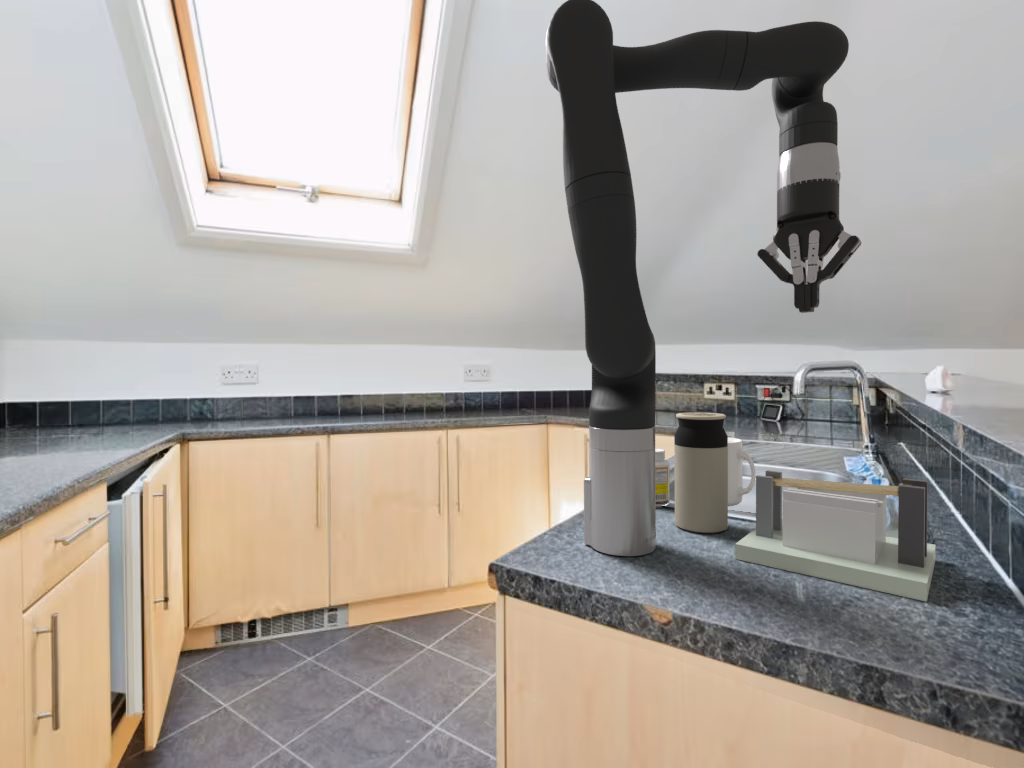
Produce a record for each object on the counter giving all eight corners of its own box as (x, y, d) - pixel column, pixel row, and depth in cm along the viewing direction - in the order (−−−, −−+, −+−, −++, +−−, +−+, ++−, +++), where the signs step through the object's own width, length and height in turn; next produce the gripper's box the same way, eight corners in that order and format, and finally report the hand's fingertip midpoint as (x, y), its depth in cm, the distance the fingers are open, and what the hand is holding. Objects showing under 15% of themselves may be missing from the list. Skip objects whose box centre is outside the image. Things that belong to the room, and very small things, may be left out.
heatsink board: (735, 558, 70) (735, 475, 69) (770, 530, 82) (770, 458, 81) (926, 601, 56) (928, 498, 56) (935, 559, 68) (936, 474, 68)
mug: (696, 492, 107) (696, 435, 106) (761, 500, 100) (761, 439, 100) (683, 502, 99) (683, 441, 98) (752, 511, 92) (752, 445, 92)
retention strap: (761, 486, 73) (761, 477, 73) (768, 483, 76) (767, 474, 76) (910, 499, 62) (909, 488, 62) (912, 494, 65) (912, 484, 65)
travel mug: (713, 538, 78) (713, 417, 78) (665, 526, 84) (664, 414, 83) (736, 526, 84) (736, 413, 83) (689, 516, 89) (689, 411, 89)
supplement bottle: (646, 499, 102) (646, 446, 101) (674, 503, 98) (674, 449, 98) (633, 505, 97) (633, 450, 97) (662, 510, 94) (661, 453, 94)
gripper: (748, 190, 74) (748, 313, 75) (859, 165, 65) (858, 305, 66) (764, 202, 80) (764, 317, 80) (869, 181, 71) (868, 310, 71)
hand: (806, 311), depth 73 cm, fingers closed
